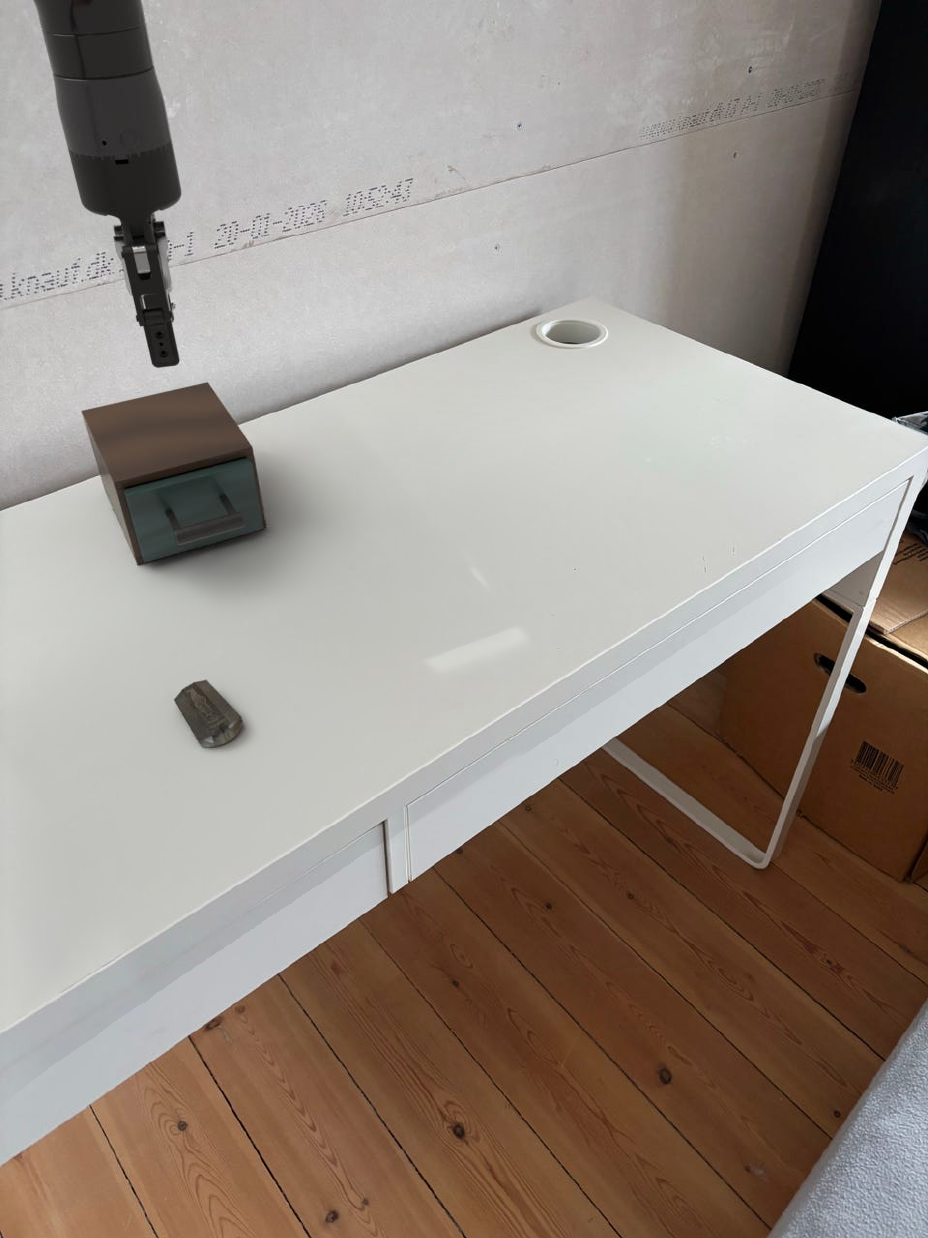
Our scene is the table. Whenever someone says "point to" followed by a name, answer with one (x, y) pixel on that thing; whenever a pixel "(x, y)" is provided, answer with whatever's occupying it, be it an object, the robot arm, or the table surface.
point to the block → (208, 714)
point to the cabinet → (162, 444)
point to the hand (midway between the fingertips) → (164, 343)
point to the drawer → (194, 508)
